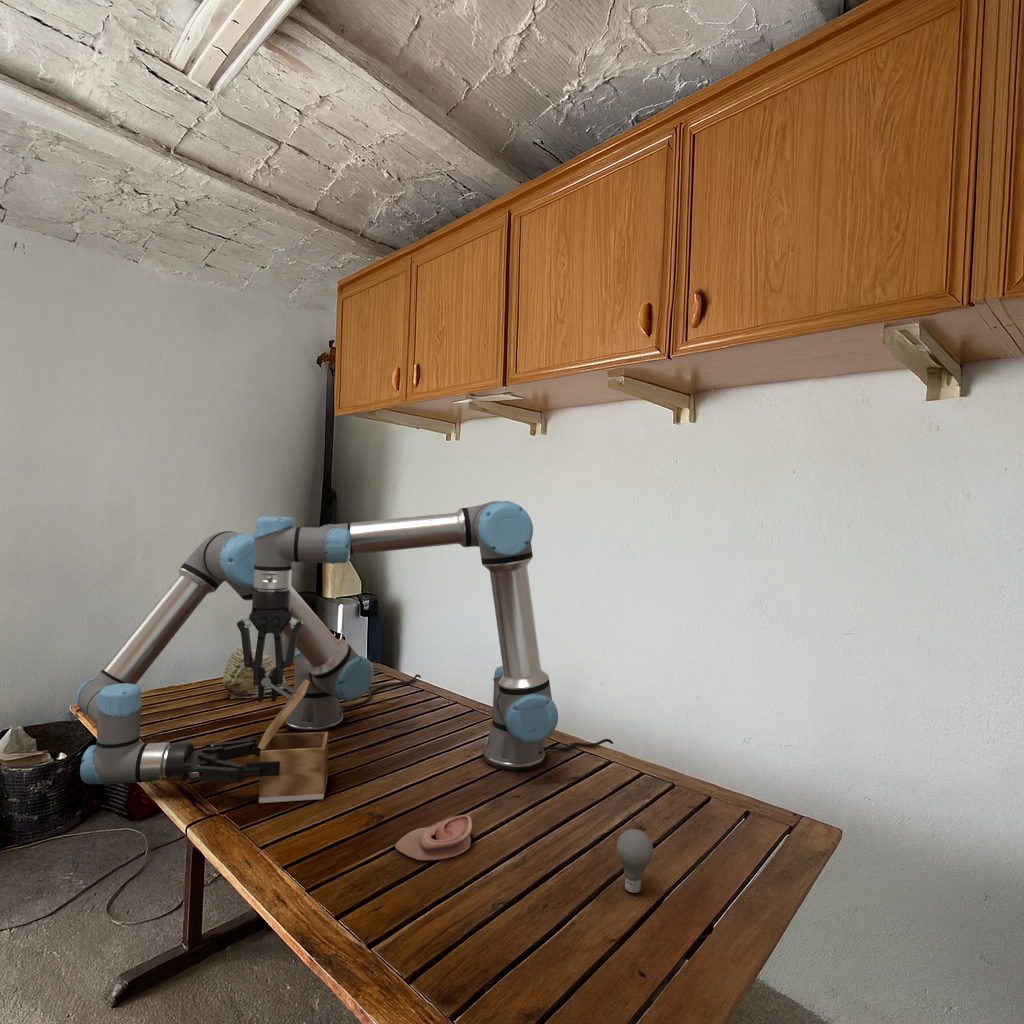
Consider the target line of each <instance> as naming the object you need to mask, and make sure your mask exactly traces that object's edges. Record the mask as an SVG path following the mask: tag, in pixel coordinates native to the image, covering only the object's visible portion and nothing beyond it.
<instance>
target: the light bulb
mask: <svg viewBox="0 0 1024 1024" xmlns="http://www.w3.org/2000/svg"><path fill="white" fill-rule="evenodd" d="M615 849H616V854H617V857H618V859H619V861H620V863H621V865H622V867H623V873H624V874H623V875H624V876H625V878H624V888H625V890H627V891H628V892H630V893H634V894H635V893H639V892H640V891H641V889H642V887H641V886H642V879H643V877H644V875H645V871H646V868H647V867H648V866H649V864H650V863H651V861H652V859H653V855H654V847H653V843H652V841H651V838H649V836H648V835H647V834H646V833H645V832H643V831H642V830H641V829H636V828H629V829H627V830H625V831H623V832H622V833H621V834H620V835H619V837H618V839H617V841H616V847H615Z"/></svg>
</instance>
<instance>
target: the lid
mask: <svg viewBox="0 0 1024 1024" xmlns="http://www.w3.org/2000/svg"><path fill="white" fill-rule="evenodd" d="M261 685H262V686H263V687H268V686H270V687H271V688H273V689H274V690H276V691H277V692H279V693H280V694H279V695H281V696H283V697H285V698H286V699H288V701H287V702H285V703H286V704H285V705H284V706H283V707H282V708H281V710H280V711H279V712H278V714H277V715H276V716H275V718H274V719H273V720H272V721H271V723H270V724H269V725H268V727H267V728H266V730H265V731H264V733H263V735H262V737H261V739H260V742H259V743H260V744H259V746H258V748H260V749H261V750H263V749H264V747H265V746H266V745H267V743H268V742H269V741H270V740H271V738H272V737H273V736H274V734H277V732H278V730H279V729H280V728H281V726H282V725H283V724H284V723H285V722H286V719H287V717H288V716H289V715H290V714H291V712H292V711H293V710H294V708H295V707H296V706H297V704H298V703H299V702H300V701H301V699H302V698H303V697H304V695H305V693H306V690H307V687H308V685H309V681H308V680H306V679H305V680H304V681H303V683H302V684H301V685H300V687H299V688H298V689H297V691H296V690H295V689H294V687H292V686H291V685H289V684H287V682H286V683H284V682H283V681H282V683H281V686H282V687H284V688H285V689H286V690H287V691H288V692H290V693H292V695H291V694H290V693H288V692H287V691H286V690H285V691H283V690H282V689H280V688H279V687H277V686H276V685H274V684H273V683H272V671H268V672H267V673H266V674H265V676H264V677H263V679H262V681H261Z"/></svg>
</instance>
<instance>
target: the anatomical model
mask: <svg viewBox="0 0 1024 1024" xmlns="http://www.w3.org/2000/svg"><path fill="white" fill-rule="evenodd" d="M472 830H473V821H472V818H471V816H470V815H469V814H459V815H456V816H452V817H450V818H447V819H444V820H442V821H440V822H437V823H436V824H435V823H434V824H433V825H431V826H429V827H420V828H417V829H413V830H412V831H409V832H408V833H406V834H405V835H403V836H402V837H401V838H400V839H399V840H397V842H396V843H395V845H394V848H395V849H396V851H398V852H400V853H401V854H403V855H405V856H406V857H408V858H412V859H414V860H417V861H436V860H437V861H438V860H444V859H450V858H453V857H456V856H459V855H462V854H463V853H464V852H467V851H468V850H469V848H470V847H471V844H472V839H471V833H472Z"/></svg>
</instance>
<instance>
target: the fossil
mask: <svg viewBox="0 0 1024 1024" xmlns="http://www.w3.org/2000/svg"><path fill="white" fill-rule="evenodd" d="M251 650H252V659H253V661H254V660H255V653H256V648H251ZM261 668H265V674H266V673H267V672H268V671H273V669H274V668H276V662H274V660H273V659H272V658H271V657H270V656H269V655H268V654H267V653H266V652H265V650H264V651H263V658H262V665H261ZM253 674H254V671H253V669H252V668H249V667H248V668H247V667H245V665H244V657H243V648H242V646H238V647H237V648H236V649H235V650H233V651H232V653H231V656H230V657H229V659H228V660H227V663H226V666H225V668H224V671H223V675H222V676H223V677H222V685H223V687H224V688H225V690H226V691H228V693H229V698H230V699H250V698H258V685H254V684H253ZM283 682H284V683H286V684H287V680H286V678H285V676H284V675H283ZM277 687H279V688H280V689H282V690H283V691H285V692H286V690H287V689H285V688H284V687H282V686H281V685H277ZM271 693H272V688H271V687H270V686H268V687H264V697H271ZM277 695H281V694H280V693H279V692H277Z"/></svg>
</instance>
